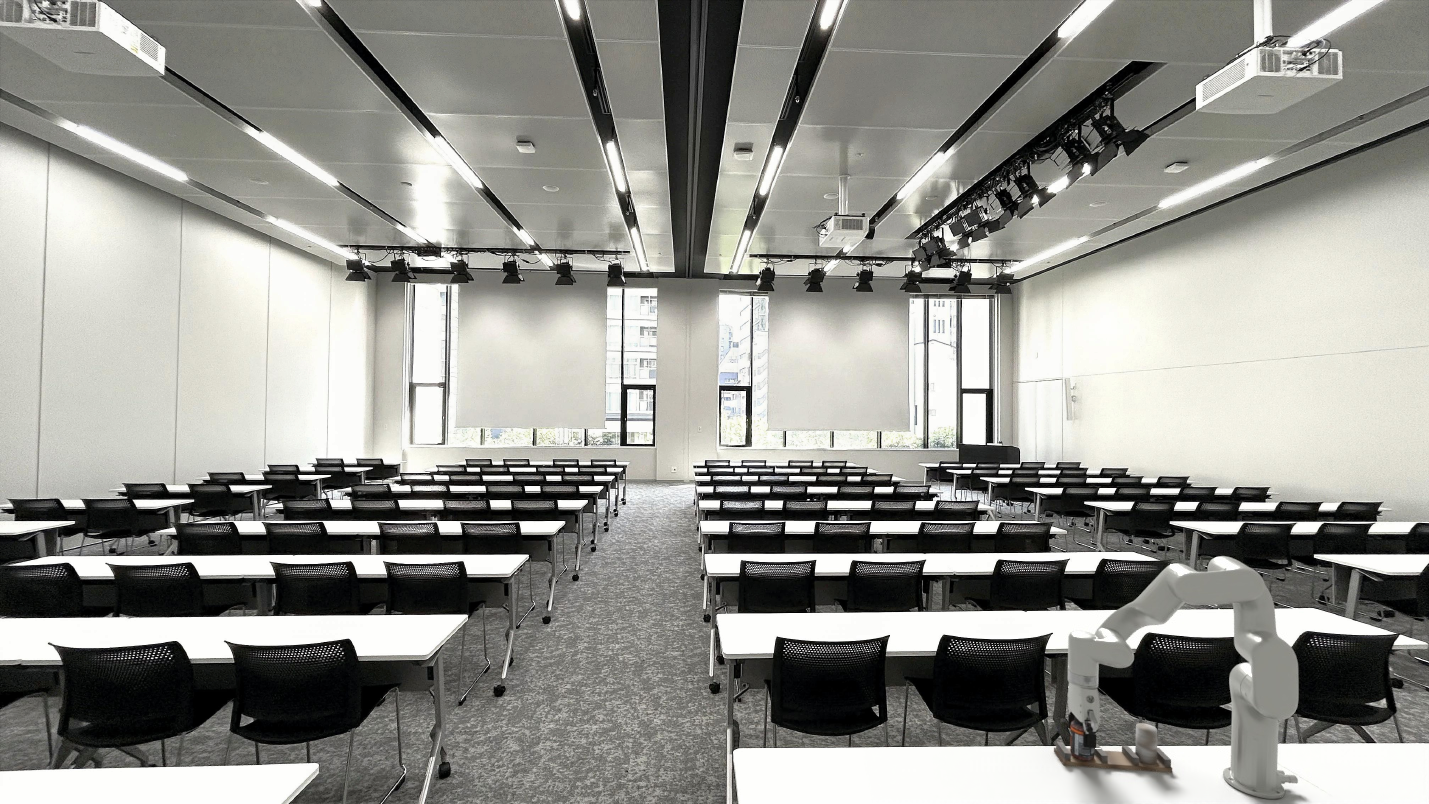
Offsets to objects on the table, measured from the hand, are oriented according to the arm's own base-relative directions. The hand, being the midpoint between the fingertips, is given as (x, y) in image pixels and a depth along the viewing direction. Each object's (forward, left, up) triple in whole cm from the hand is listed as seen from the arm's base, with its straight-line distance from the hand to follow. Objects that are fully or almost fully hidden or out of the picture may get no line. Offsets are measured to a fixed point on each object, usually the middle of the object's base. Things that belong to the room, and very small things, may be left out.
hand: (1081, 737), depth 187 cm
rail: (-8, 0, -6) cm, 10 cm away
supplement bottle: (0, 0, -5) cm, 5 cm away
